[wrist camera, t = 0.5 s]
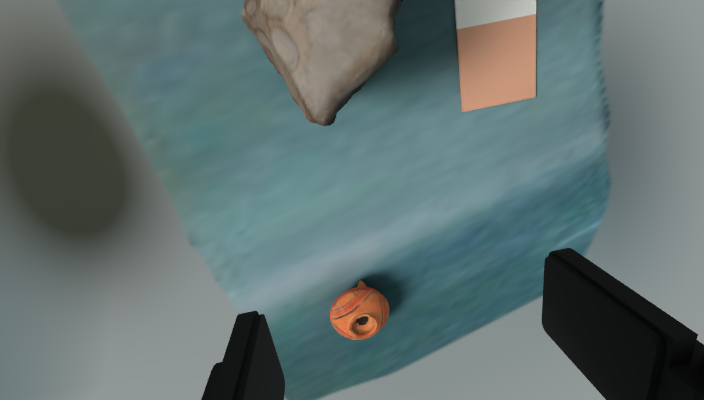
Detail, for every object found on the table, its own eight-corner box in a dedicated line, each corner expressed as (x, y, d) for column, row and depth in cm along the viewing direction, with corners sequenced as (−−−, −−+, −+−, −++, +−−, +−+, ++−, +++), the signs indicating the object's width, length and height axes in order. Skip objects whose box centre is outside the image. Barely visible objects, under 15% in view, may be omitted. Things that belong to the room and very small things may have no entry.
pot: (326, 274, 46) (341, 303, 40) (378, 270, 49) (400, 296, 43) (321, 324, 48) (335, 359, 42) (372, 317, 51) (391, 348, 45)
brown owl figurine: (348, -52, 34) (387, -214, 15) (399, 68, 38) (477, 57, 20) (239, 10, 35) (150, -70, 16) (301, 121, 39) (286, 159, 20)
